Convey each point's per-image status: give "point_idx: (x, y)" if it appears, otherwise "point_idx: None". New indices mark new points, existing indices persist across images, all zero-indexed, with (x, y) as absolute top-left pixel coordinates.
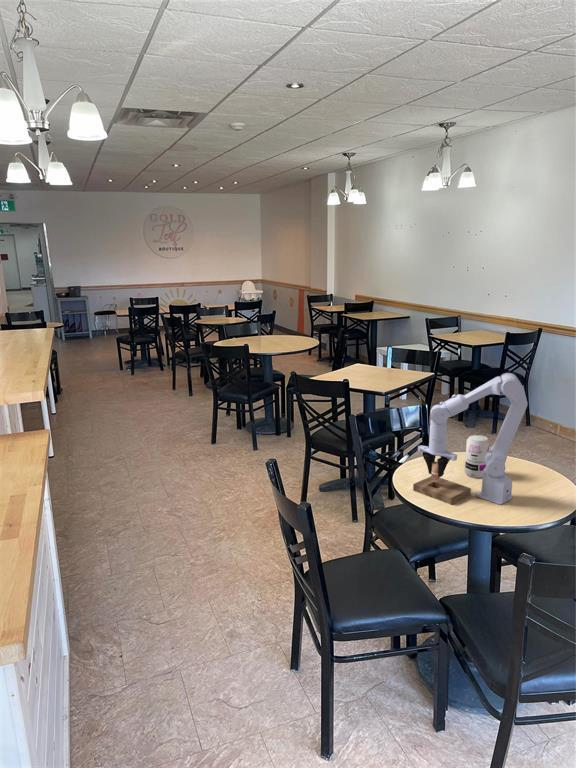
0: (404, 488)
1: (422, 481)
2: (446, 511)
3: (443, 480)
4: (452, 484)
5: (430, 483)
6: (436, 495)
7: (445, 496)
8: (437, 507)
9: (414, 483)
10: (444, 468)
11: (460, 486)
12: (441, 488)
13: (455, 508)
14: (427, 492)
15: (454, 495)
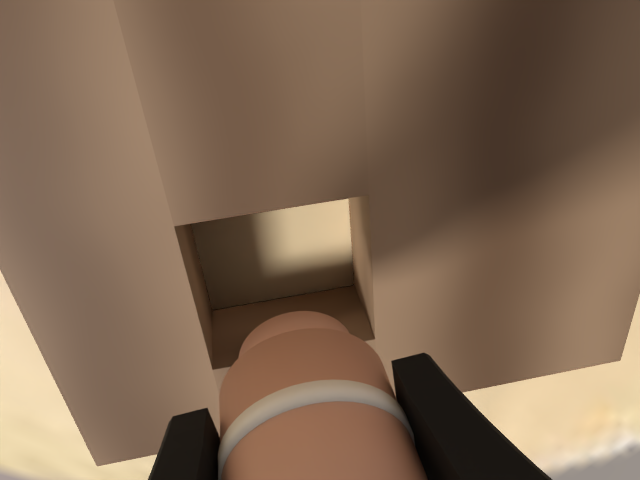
0: (20, 436)
1: (80, 350)
2: (596, 405)
3: (219, 52)
4: (436, 58)
5: (195, 301)
6: None
7: (546, 369)
8: (510, 418)
9: (93, 453)
10: (521, 477)
11: (577, 13)
12: (410, 294)
13: (634, 325)
14: None
15: (626, 303)
